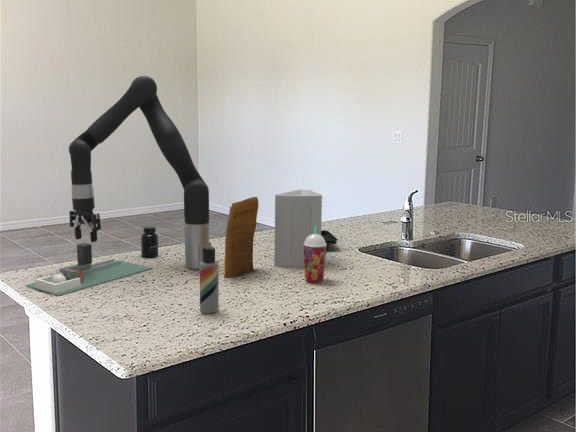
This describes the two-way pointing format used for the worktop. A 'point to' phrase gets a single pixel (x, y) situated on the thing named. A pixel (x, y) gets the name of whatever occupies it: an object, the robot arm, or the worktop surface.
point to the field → (103, 276)
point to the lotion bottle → (209, 282)
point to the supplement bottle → (149, 242)
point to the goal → (54, 288)
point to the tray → (328, 237)
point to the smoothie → (314, 257)
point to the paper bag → (295, 225)
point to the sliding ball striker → (80, 262)
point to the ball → (58, 279)
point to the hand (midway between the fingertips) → (86, 240)
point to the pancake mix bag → (240, 237)
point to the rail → (97, 267)
